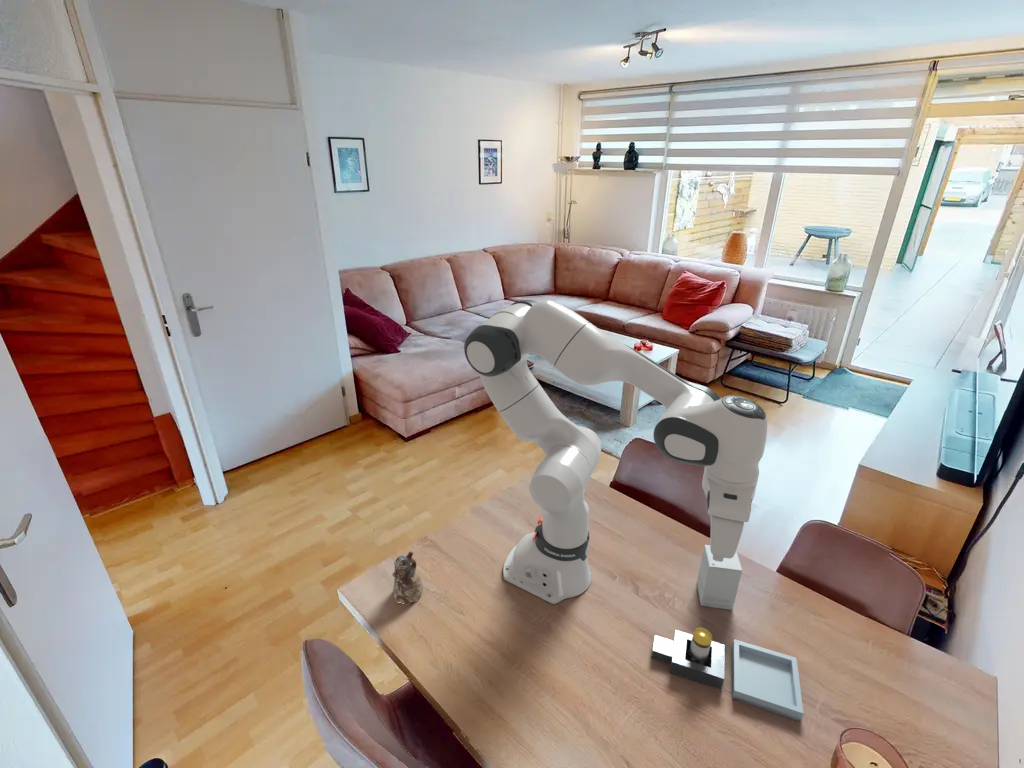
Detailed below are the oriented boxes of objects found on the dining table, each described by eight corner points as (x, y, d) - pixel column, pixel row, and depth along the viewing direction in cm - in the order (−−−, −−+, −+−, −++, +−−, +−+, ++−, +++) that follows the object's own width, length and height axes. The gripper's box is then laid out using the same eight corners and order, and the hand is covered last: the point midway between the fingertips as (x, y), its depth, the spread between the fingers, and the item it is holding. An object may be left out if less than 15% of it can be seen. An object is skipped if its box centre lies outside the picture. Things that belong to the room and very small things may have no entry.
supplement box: (733, 611, 116) (743, 571, 110) (699, 606, 117) (708, 566, 112) (727, 586, 122) (736, 547, 117) (696, 581, 124) (703, 543, 118)
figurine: (388, 592, 122) (382, 555, 117) (413, 577, 126) (408, 541, 121) (403, 610, 117) (397, 573, 112) (428, 594, 121) (424, 557, 116)
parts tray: (732, 698, 98) (734, 690, 97) (731, 646, 108) (734, 639, 107) (800, 721, 94) (803, 713, 92) (793, 665, 104) (796, 657, 102)
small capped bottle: (686, 668, 103) (692, 639, 99) (687, 654, 106) (694, 625, 102) (704, 674, 102) (711, 645, 98) (705, 659, 105) (712, 630, 101)
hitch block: (650, 666, 104) (651, 655, 102) (654, 634, 111) (656, 623, 109) (721, 690, 99) (724, 678, 98) (721, 655, 106) (724, 644, 104)
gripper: (711, 449, 99) (702, 504, 105) (708, 513, 82) (698, 575, 87) (745, 454, 97) (734, 511, 103) (750, 521, 79) (736, 584, 85)
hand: (717, 541), depth 95 cm, fingers open, 8 cm apart
